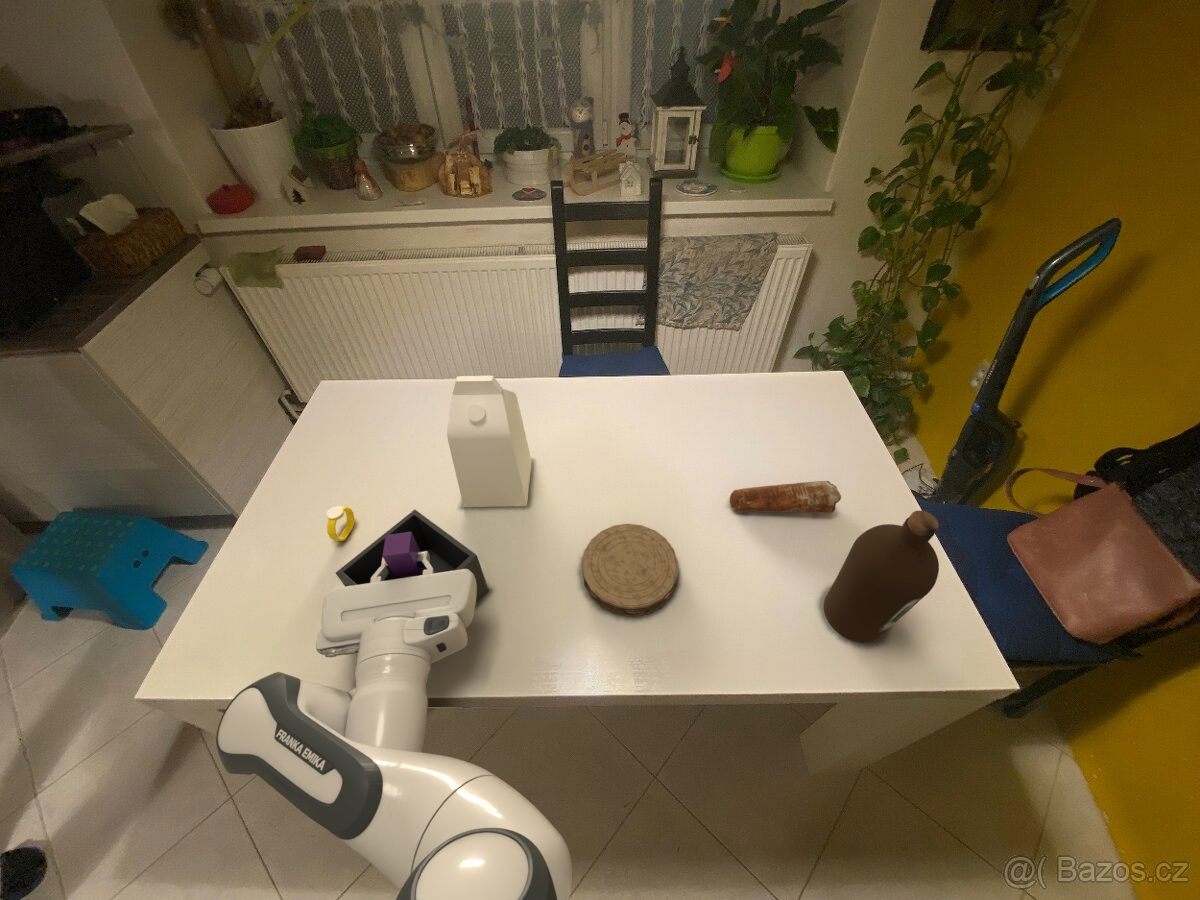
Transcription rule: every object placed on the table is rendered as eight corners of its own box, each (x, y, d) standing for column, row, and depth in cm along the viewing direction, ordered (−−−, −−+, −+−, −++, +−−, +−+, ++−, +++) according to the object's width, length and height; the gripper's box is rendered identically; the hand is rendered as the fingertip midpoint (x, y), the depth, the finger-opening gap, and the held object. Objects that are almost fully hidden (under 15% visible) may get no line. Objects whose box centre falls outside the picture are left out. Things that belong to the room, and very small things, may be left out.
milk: (531, 461, 104) (515, 356, 86) (526, 505, 96) (507, 400, 78) (473, 462, 104) (444, 358, 86) (463, 507, 96) (429, 402, 78)
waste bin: (418, 661, 76) (397, 630, 68) (360, 607, 82) (334, 572, 74) (489, 590, 84) (477, 555, 76) (431, 546, 90) (414, 509, 83)
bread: (834, 519, 93) (844, 500, 89) (730, 517, 94) (735, 498, 90) (825, 492, 98) (834, 473, 94) (725, 491, 98) (730, 472, 94)
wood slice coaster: (563, 582, 85) (562, 572, 83) (617, 519, 94) (617, 509, 92) (643, 635, 78) (644, 627, 76) (693, 562, 87) (695, 553, 85)
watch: (346, 547, 90) (333, 527, 86) (331, 545, 91) (317, 526, 86) (361, 520, 94) (349, 500, 90) (347, 518, 95) (335, 498, 90)
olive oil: (806, 615, 80) (864, 521, 63) (837, 572, 86) (899, 474, 68) (872, 662, 75) (955, 574, 57) (901, 613, 81) (985, 519, 63)
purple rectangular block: (427, 588, 78) (408, 552, 71) (403, 592, 77) (382, 556, 70) (428, 568, 80) (411, 531, 73) (405, 571, 80) (385, 535, 73)
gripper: (322, 669, 67) (342, 577, 77) (479, 643, 69) (479, 557, 79) (302, 649, 63) (325, 554, 72) (470, 622, 65) (471, 534, 74)
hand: (406, 555), depth 75 cm, fingers closed on purple rectangular block, 3 cm apart
